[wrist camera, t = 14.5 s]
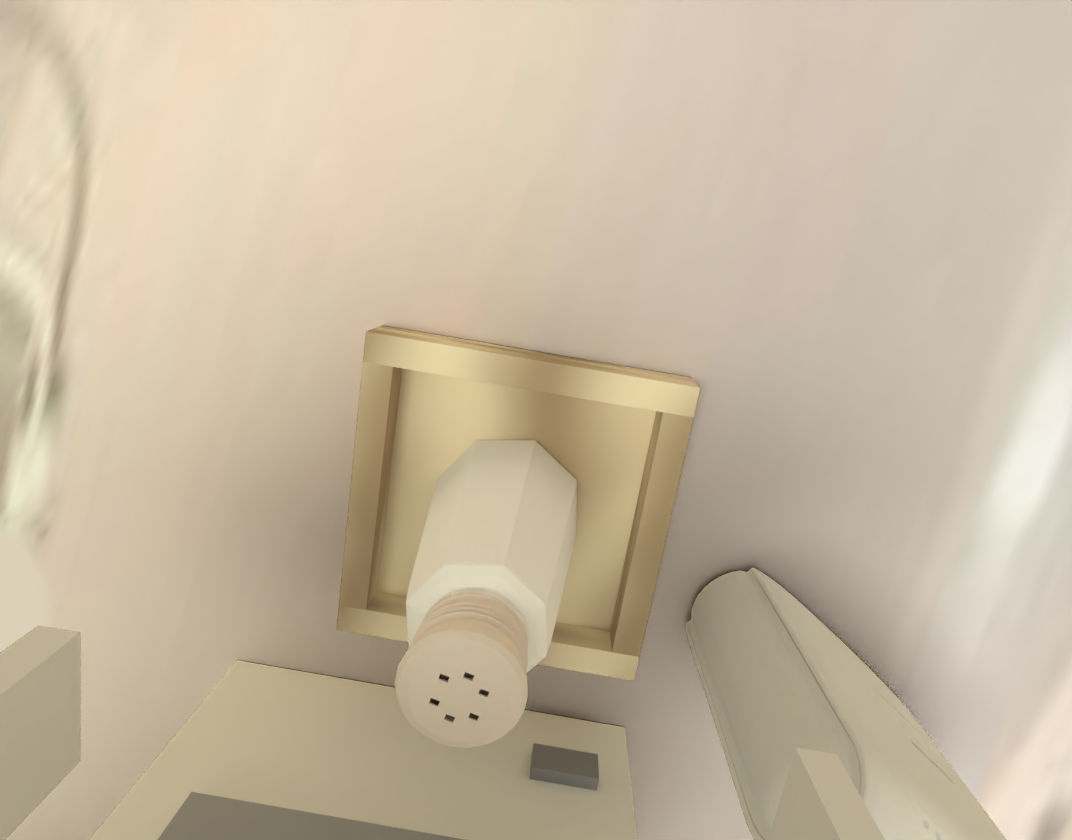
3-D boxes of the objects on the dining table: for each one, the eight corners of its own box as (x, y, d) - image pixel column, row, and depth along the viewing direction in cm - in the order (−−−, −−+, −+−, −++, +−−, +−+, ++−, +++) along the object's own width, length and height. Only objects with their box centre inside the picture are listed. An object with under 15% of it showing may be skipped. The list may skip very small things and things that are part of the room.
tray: (353, 602, 26) (336, 629, 25) (382, 325, 24) (365, 331, 22) (629, 649, 26) (634, 680, 24) (689, 377, 24) (700, 387, 22)
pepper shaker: (464, 410, 24) (377, 537, 13) (605, 467, 24) (633, 637, 13) (413, 541, 25) (296, 753, 14) (548, 594, 25) (531, 841, 15)
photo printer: (925, 715, 26) (1220, 1098, 14) (839, 778, 27) (1049, 1188, 15) (749, 542, 25) (913, 805, 13) (664, 614, 26) (745, 922, 14)
